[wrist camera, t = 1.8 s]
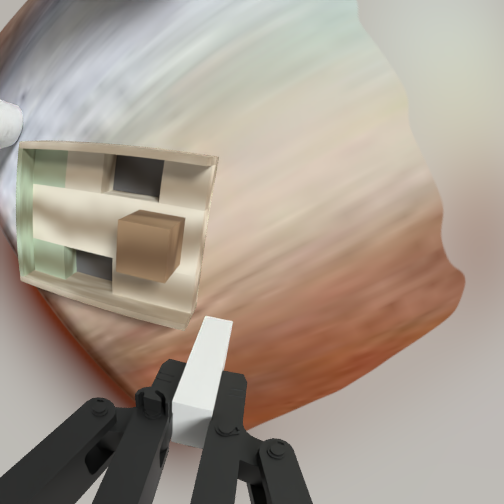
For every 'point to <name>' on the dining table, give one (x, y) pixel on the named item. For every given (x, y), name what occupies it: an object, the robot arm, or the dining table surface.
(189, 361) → the robot arm
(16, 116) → the cup
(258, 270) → the dining table surface
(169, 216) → the block
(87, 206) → the box
